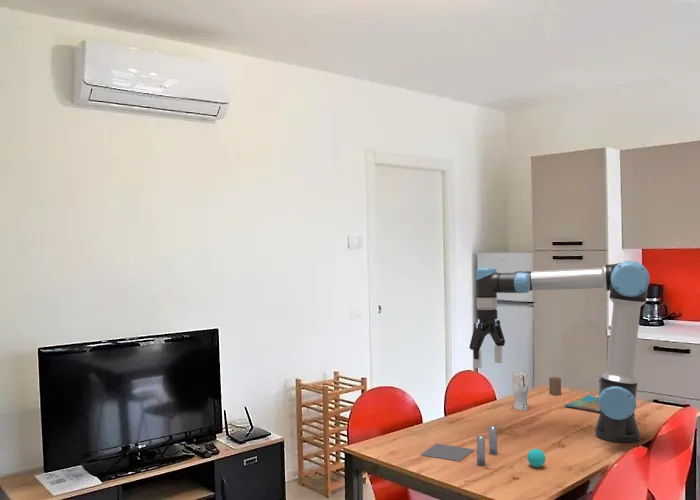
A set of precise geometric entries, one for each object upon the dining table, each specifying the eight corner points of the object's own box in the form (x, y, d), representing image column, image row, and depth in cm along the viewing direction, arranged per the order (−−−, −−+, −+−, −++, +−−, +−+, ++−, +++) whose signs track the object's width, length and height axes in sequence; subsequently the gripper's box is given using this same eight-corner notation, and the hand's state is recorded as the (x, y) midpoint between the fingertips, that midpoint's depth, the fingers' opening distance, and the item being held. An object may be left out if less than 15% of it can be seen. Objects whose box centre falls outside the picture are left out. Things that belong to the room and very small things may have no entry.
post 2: (498, 452, 209) (497, 426, 209) (495, 455, 206) (495, 428, 206) (490, 451, 210) (490, 425, 210) (488, 453, 208) (487, 427, 208)
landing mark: (474, 449, 212) (474, 449, 212) (459, 461, 200) (459, 461, 200) (436, 444, 219) (436, 443, 219) (420, 455, 207) (420, 454, 207)
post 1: (486, 463, 198) (485, 435, 198) (483, 466, 196) (483, 438, 196) (478, 462, 199) (478, 434, 199) (475, 465, 197) (475, 436, 197)
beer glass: (520, 411, 263) (520, 376, 263) (509, 408, 269) (508, 373, 270) (532, 409, 266) (532, 374, 267) (521, 406, 273) (520, 372, 273)
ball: (547, 465, 196) (547, 448, 196) (543, 470, 191) (543, 453, 191) (530, 462, 198) (529, 445, 198) (525, 467, 194) (525, 450, 194)
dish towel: (624, 405, 274) (624, 399, 274) (602, 415, 257) (602, 409, 257) (587, 399, 286) (586, 394, 286) (563, 409, 269) (563, 403, 269)
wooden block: (555, 393, 297) (554, 376, 297) (561, 394, 294) (561, 377, 294) (549, 394, 295) (548, 377, 295) (555, 395, 292) (555, 378, 292)
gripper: (496, 306, 242) (498, 359, 242) (458, 310, 225) (460, 368, 224) (513, 306, 237) (514, 361, 236) (476, 311, 219) (477, 371, 219)
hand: (488, 365), depth 230 cm, fingers open, 13 cm apart
